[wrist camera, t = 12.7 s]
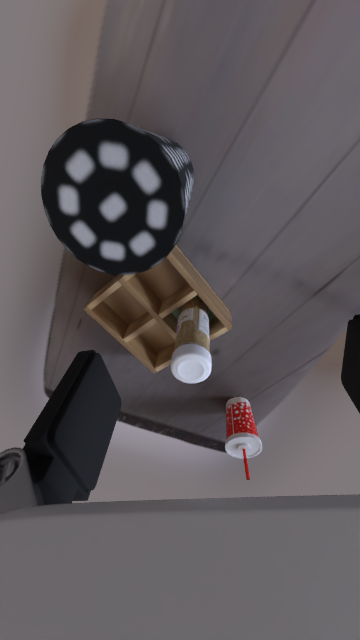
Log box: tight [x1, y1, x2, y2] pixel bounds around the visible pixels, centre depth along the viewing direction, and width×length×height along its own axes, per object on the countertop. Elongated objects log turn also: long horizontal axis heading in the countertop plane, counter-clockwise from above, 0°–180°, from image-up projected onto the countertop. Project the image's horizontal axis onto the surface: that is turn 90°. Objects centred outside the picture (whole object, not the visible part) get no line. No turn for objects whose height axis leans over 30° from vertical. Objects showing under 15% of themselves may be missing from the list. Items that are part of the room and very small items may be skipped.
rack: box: [83, 245, 233, 373], centre depth 40 cm, size 15×15×5 cm
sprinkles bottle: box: [171, 297, 211, 383], centre depth 35 cm, size 5×5×14 cm
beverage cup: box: [225, 397, 262, 480], centre depth 46 cm, size 6×6×14 cm
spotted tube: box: [41, 118, 194, 275], centre depth 24 cm, size 8×8×20 cm
